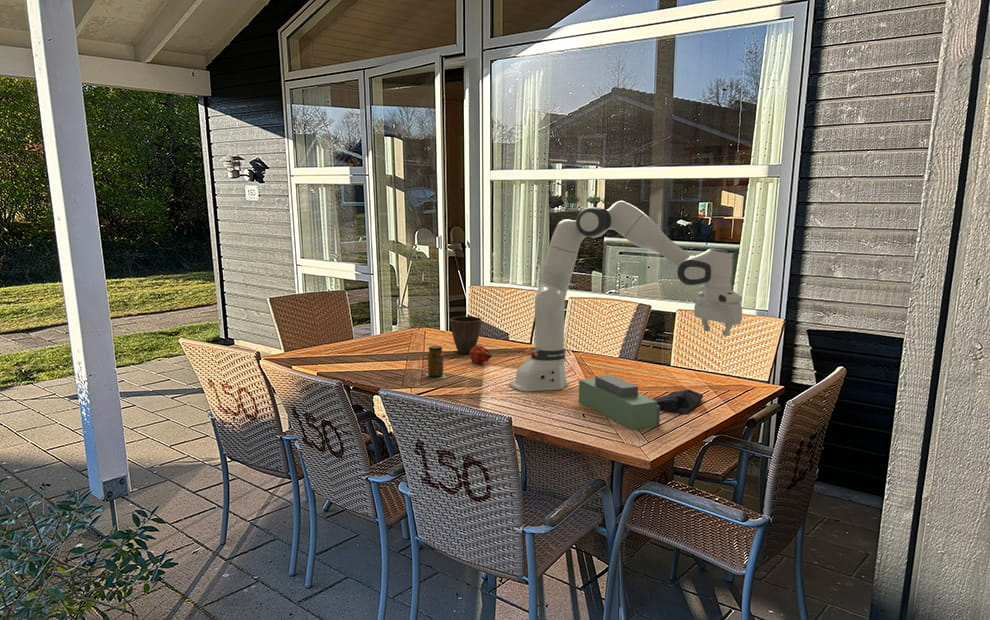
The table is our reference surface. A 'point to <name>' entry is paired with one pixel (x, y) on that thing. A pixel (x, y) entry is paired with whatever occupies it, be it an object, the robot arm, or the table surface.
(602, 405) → the block
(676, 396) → the black crumpled cloth
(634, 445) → the table surface
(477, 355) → the dragon fruit
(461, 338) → the plant pot
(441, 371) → the condiment
